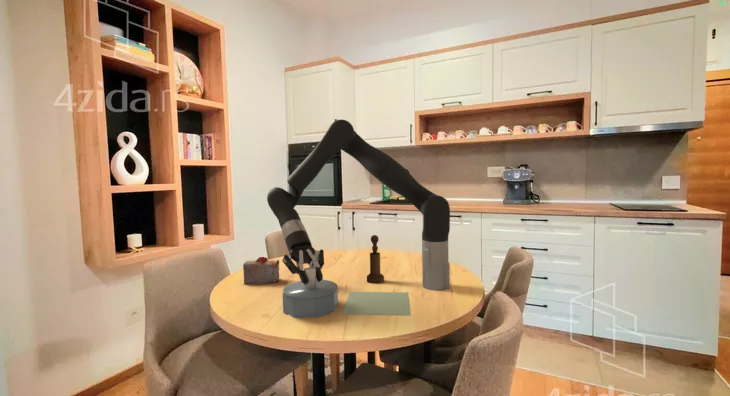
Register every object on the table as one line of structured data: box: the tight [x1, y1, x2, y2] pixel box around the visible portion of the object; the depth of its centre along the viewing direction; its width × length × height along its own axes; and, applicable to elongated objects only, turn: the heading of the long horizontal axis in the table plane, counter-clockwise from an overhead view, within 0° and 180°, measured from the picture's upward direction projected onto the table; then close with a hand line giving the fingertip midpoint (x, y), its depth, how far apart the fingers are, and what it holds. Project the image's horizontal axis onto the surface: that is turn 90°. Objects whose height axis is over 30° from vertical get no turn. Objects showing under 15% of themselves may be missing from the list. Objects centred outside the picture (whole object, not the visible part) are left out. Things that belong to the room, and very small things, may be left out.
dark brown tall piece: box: [366, 234, 385, 285], centre depth 132 cm, size 7×6×18 cm
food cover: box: [282, 266, 339, 319], centre depth 106 cm, size 16×16×12 cm
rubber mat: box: [340, 291, 411, 317], centre depth 109 cm, size 20×20×1 cm
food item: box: [242, 256, 280, 285], centre depth 136 cm, size 14×8×10 cm, turn 93°
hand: (313, 281), depth 104 cm, fingers open, 4 cm apart
